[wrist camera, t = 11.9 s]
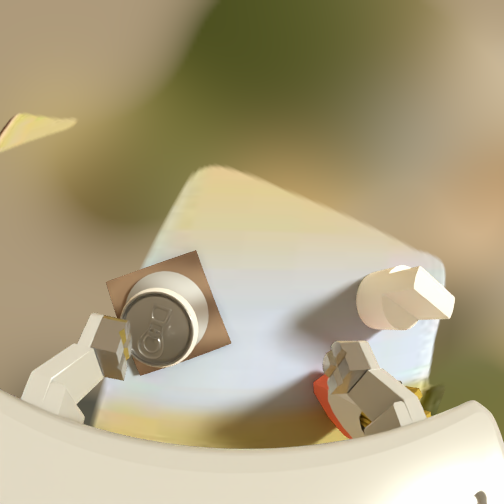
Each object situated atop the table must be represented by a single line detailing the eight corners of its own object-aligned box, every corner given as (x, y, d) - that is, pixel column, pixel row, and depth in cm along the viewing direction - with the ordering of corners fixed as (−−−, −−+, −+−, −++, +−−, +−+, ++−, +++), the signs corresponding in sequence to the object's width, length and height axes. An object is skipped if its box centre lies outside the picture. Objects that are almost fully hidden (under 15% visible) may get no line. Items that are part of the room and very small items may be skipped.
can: (134, 338, 28) (104, 354, 17) (150, 286, 30) (128, 273, 19) (187, 356, 29) (186, 383, 18) (202, 304, 31) (210, 301, 20)
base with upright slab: (404, 288, 40) (459, 278, 29) (387, 338, 38) (444, 341, 26) (368, 261, 39) (423, 243, 28) (347, 314, 37) (404, 312, 25)
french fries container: (333, 431, 33) (413, 481, 15) (303, 380, 33) (389, 422, 16) (356, 412, 34) (442, 450, 17) (329, 360, 35) (424, 385, 18)
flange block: (230, 342, 32) (232, 343, 31) (141, 373, 29) (139, 376, 27) (195, 251, 34) (196, 249, 32) (108, 282, 30) (104, 281, 29)
